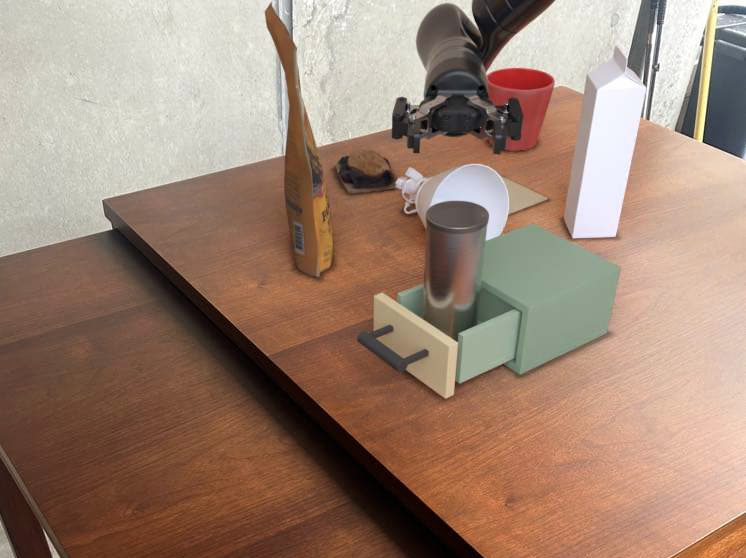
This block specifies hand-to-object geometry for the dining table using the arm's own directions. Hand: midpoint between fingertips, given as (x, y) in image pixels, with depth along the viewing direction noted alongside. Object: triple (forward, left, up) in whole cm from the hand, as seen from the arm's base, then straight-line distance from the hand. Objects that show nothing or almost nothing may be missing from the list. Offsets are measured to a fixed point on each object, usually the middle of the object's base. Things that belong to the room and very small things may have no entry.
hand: (457, 144), depth 91 cm
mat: (-26, -19, -19) cm, 38 cm away
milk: (-29, -4, -20) cm, 36 cm away
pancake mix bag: (+5, -23, -20) cm, 31 cm away
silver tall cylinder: (+7, +9, -17) cm, 21 cm away
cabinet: (-4, +9, -19) cm, 22 cm away
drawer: (+9, +9, -19) cm, 22 cm away
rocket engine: (-14, -16, -20) cm, 29 cm away
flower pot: (-42, -33, -20) cm, 57 cm away
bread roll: (-15, -37, -20) cm, 45 cm away
